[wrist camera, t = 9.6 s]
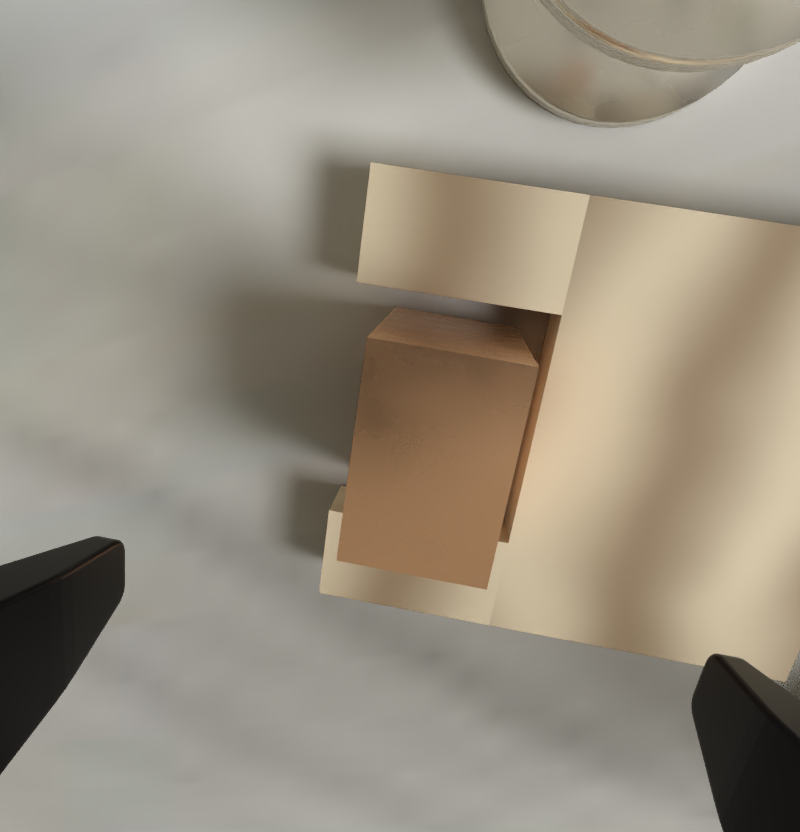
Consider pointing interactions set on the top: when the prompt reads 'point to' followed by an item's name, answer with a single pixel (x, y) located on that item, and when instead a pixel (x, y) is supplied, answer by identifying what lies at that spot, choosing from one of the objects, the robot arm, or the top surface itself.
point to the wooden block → (435, 445)
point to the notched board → (619, 416)
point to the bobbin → (632, 51)
